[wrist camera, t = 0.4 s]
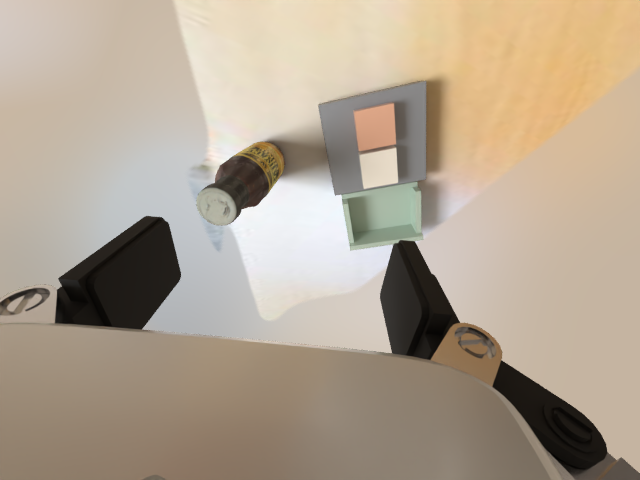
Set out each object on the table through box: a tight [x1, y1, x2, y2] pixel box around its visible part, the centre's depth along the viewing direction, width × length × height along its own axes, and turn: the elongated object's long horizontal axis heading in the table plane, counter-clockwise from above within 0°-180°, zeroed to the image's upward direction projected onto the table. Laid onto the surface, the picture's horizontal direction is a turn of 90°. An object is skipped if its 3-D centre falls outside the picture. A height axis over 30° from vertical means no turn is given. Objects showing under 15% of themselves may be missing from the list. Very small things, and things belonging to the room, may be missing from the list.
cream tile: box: [358, 145, 398, 189], centre depth 38 cm, size 5×5×2 cm
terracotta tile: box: [353, 102, 396, 151], centre depth 35 cm, size 5×5×2 cm
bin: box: [341, 181, 423, 250], centre depth 43 cm, size 9×12×5 cm
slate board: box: [318, 81, 426, 195], centre depth 39 cm, size 13×14×3 cm
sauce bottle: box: [196, 142, 285, 226], centre depth 34 cm, size 6×6×20 cm
